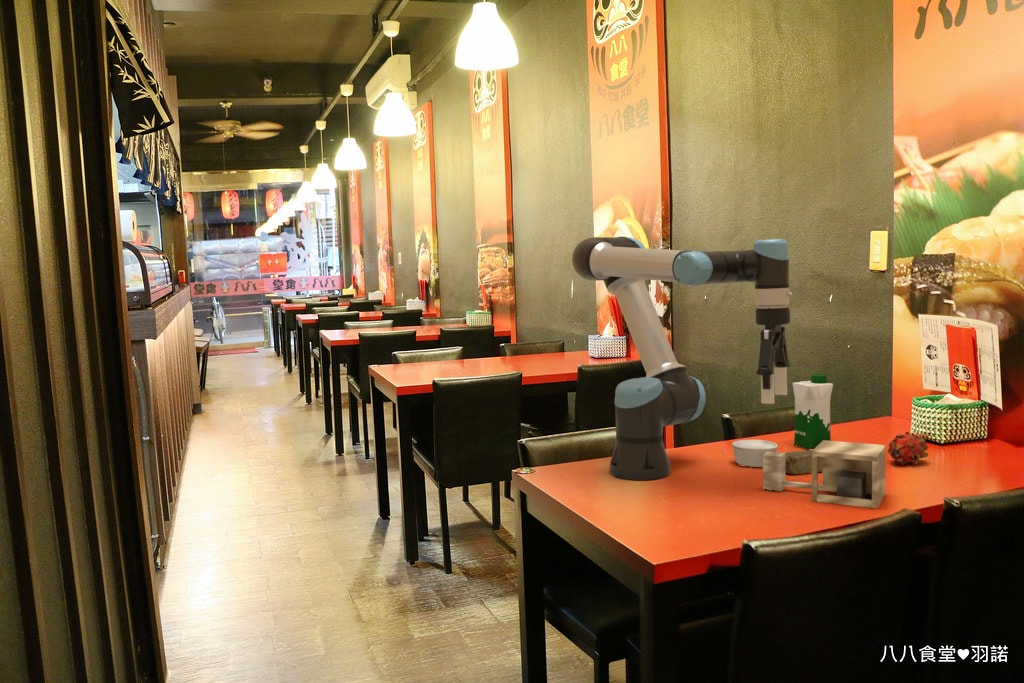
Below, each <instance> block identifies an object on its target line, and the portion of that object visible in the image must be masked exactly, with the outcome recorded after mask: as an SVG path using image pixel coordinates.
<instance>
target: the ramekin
mask: <svg viewBox="0 0 1024 683" xmlns="http://www.w3.org/2000/svg"><path fill="white" fill-rule="evenodd" d="M731 447H732V449H733V454H734V460H735V462H736V463H738V464H737V465H739V464H740V465H739V466H741V465H744V466H743V467H745V466H751V467H750V468H752V467H763V455H764V454H765V453H766V452H768V451H769V452H778V449H779V448H778V447H779V446H778V444H777V443H776V442H773V441H768V440H763V439H740V440H736V441H733V442H732V444H731Z"/></svg>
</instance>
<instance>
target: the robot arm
mask: <svg viewBox="0 0 1024 683" xmlns="http://www.w3.org/2000/svg"><path fill="white" fill-rule="evenodd" d="M571 263H572V267H573V269H574V271H575V273H576V274H578V275H579V277H581V278H583V279H585V280H587V281H602V282H603V283H604V286H605V288H606V290H607V292H608V293H610V294H613V295H614V296H615V299H616V301H617V304H618V306H619V309H620V310H621V314H622V316H623V319H624V321H625V324H626V326H627V328H628V331H629V333H630V335H631V339H632V341H633V343H634V346H635V349H636V351H637V354H638V356H639V358H640V361H641V364H642V366H643V370H644V371H645V373H646V375H645V377H637V378H635V377H634V378H631V379H626V380H624V381H622V382H620V383H618V384H617V386H616V388H615V394H614V395H615V396H614V399H613V400H614V411H615V412H614V413H615V415H614V417H615V445H614V449H613V452H612V456H611V459H610V462H609V473H610V475H612V476H613V477H616V478H620V479H624V480H625V479H626V480H636V481H639V480H641V481H647V480H648V481H649V480H650V481H651V480H658V479H662V478H665V477H668V476H669V475H670V474H671V462H670V459H669V457H668V453H667V451H666V447H665V444H664V439H663V438H664V436H663V435H664V433H663V432H664V431H663V430H664V428H666V427H669V426H675V425H679V424H682V425H683V424H686V423H688V422H691V421H693V420H695V419H697V418H698V417H699V416H700V415H702V413H703V411H704V407H705V405H706V401H707V400H706V399H707V397H706V390H705V387H704V385H703V383H702V382H701V381H700V380H699V379H697V378H696V377H695V376H694V377H693V376H690V375H689V372H688V371H687V370H688V369H687V368H686V366H685V365H684V364H681V363H679V362H678V360H677V358H676V356H675V354H674V352H673V349H672V346H671V344H670V342H669V340H668V337H667V334H666V332H665V330H664V326H663V324H662V322H661V320H660V317H659V315H658V312H657V310H656V307H655V305H654V302H653V301H652V297H651V296H650V293H649V290H648V288H647V286H646V281H647V280H648V281H649V280H651V281H661V282H670V283H671V282H673V283H681V284H683V285H686V286H687V285H688V286H701V285H710V284H714V285H715V284H732V283H744V282H745V283H746V282H747V283H748V282H751V283H753V282H754V305H755V306H756V307H757V308H756V310H755V323H756V325H759V326H764V329H761V330H760V347H759V357H758V368H757V370H756V375H760V395H761V396H760V398H761V399H760V400H761V404H765V405H766V404H768V405H769V404H770V405H774V404H775V396H776V395H777V396H787V395H788V375H787V373H788V370H787V368H790V367H791V363H790V361H789V360H790V359H789V356H788V348H787V341H786V340H787V339H786V327H785V326H784V325H789V324H790V323H791V309H790V307H787V306H789V305H790V304H791V303H790V302H791V301H790V297H792V296H793V293H792V291H790V256H789V243H788V242H787V240H786V239H784V238H783V239H782V238H769V239H758V240H755V241H754V243H753V248H752V249H742V250H741V249H740V250H739V249H738V250H716V251H715V250H713V251H710V250H709V251H708V250H707V251H706V250H705V251H704V250H703V251H701V250H700V251H699V250H682V249H681V250H678V249H677V250H676V249H663V248H646V247H645V245H644V244H643V243H642V242H641V241H639V240H638V239H637V238H633V237H628V236H616V237H615V236H614V237H607V236H606V237H604V236H603V237H602V236H601V237H599V236H596V237H595V236H594V237H593V236H592V237H588V238H585V239H584V240H583V239H582V241H580V242H579V243H578V244H577V245H576V246H575V247H574V249H573V253H572V258H571ZM774 366H775V367H774ZM773 371H774V374H773Z"/></svg>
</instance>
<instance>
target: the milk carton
mask: <svg viewBox="0 0 1024 683" xmlns="http://www.w3.org/2000/svg"><path fill="white" fill-rule="evenodd" d="M791 383H792V384H791V385H792V388H793V396H794V441H793V442H794V443H793V446H794V445H797V446H796V447H798V446H800V447H799V448H801V447H803V448H802V449H804V448H806V449H805V450H807V449H815V448H816V447H817V446H818V445H819V444H820V443H821V442H822V441H823V440H827V441H832V438H831V437H832V435H831V396H832V391H833V387H834V384H833V383H831V382H828V381H827V374H821V373H820V374H818V373H816V374H814V373H813V374H810V380H805V381H798V382H791Z"/></svg>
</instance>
